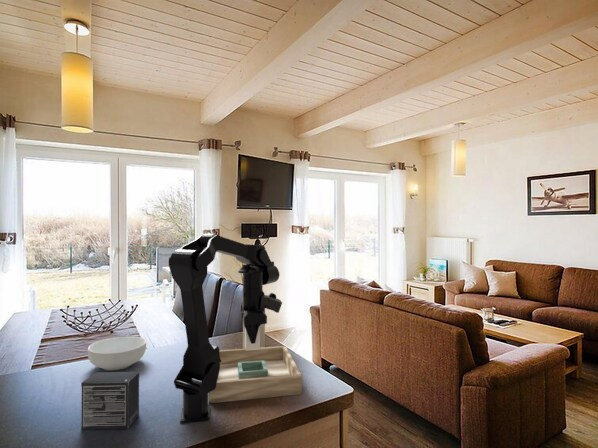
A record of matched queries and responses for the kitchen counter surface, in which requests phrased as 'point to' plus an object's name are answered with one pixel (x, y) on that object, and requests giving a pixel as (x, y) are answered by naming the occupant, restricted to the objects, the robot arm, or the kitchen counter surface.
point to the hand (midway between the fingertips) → (252, 340)
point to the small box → (110, 400)
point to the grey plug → (255, 345)
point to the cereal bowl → (116, 352)
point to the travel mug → (262, 334)
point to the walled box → (256, 375)
